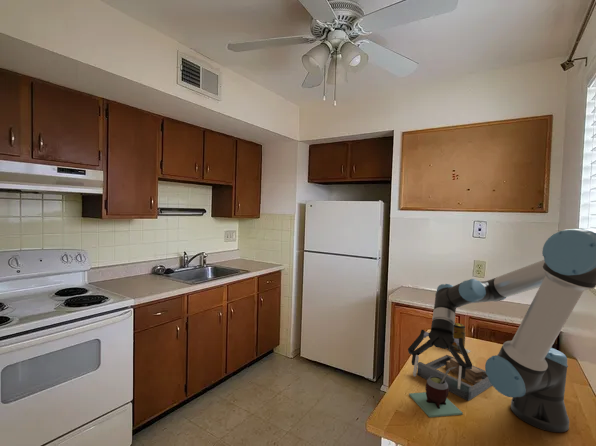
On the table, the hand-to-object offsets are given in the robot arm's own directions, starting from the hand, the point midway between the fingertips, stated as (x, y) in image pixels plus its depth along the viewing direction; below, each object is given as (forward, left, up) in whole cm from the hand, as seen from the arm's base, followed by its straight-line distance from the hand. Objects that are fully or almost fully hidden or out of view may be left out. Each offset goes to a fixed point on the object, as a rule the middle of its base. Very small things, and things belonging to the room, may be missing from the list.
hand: (435, 381), depth 105 cm
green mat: (+2, -1, -9) cm, 9 cm away
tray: (+16, -20, -9) cm, 27 cm away
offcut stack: (+18, -26, -9) cm, 33 cm away
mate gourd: (+1, -2, -9) cm, 9 cm away
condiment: (+40, -40, -9) cm, 58 cm away
